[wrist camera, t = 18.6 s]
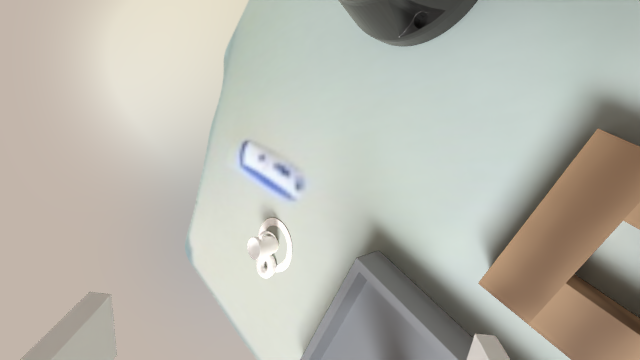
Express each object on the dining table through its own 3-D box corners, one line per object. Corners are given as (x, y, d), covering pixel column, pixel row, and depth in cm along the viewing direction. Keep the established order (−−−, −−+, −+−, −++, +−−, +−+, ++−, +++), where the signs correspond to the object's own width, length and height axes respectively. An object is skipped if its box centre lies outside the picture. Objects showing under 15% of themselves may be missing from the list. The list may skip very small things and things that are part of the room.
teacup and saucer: (273, 283, 53) (250, 290, 50) (252, 239, 56) (230, 243, 53) (302, 253, 48) (279, 259, 45) (278, 206, 51) (254, 209, 48)
